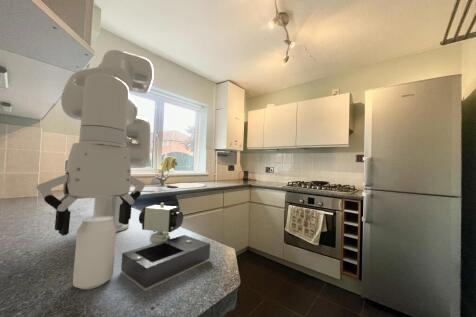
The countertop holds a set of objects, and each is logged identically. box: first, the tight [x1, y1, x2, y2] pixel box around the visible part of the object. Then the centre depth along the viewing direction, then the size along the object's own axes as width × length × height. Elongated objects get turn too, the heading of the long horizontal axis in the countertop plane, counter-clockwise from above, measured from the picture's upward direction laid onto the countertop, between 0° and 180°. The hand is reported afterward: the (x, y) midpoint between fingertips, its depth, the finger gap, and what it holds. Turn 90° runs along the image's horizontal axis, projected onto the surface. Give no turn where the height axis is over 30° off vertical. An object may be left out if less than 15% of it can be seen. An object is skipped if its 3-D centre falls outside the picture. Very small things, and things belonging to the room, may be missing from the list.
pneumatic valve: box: [138, 202, 184, 245], centre depth 57 cm, size 6×12×12 cm, turn 78°
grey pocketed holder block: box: [120, 234, 211, 292], centre depth 44 cm, size 10×16×4 cm, turn 143°
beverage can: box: [72, 216, 117, 290], centre depth 38 cm, size 6×6×12 cm
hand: (96, 228), depth 37 cm, fingers open, 9 cm apart
